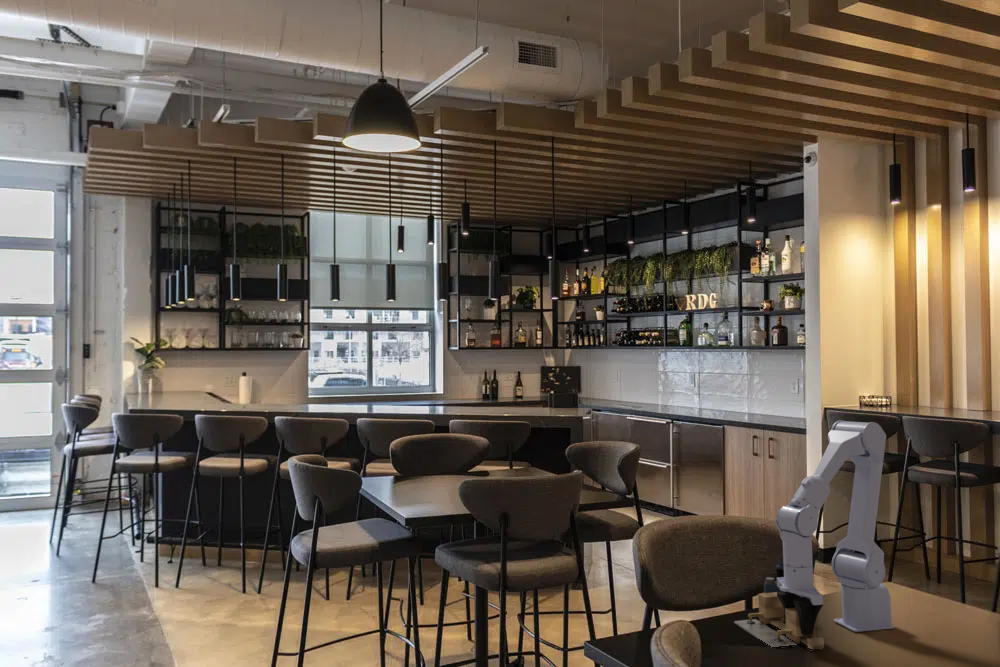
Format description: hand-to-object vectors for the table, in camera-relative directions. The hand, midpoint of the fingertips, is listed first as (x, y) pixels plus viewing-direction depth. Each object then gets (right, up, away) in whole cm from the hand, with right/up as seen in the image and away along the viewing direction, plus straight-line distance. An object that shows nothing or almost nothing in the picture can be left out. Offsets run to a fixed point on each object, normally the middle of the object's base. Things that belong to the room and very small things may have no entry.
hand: (800, 630), depth 171 cm
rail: (-1, -2, +5) cm, 5 cm away
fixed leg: (-4, -2, +11) cm, 12 cm away
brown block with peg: (-1, -2, 0) cm, 2 cm away
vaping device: (+1, -3, +17) cm, 18 cm away
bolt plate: (-6, -2, +4) cm, 8 cm away
